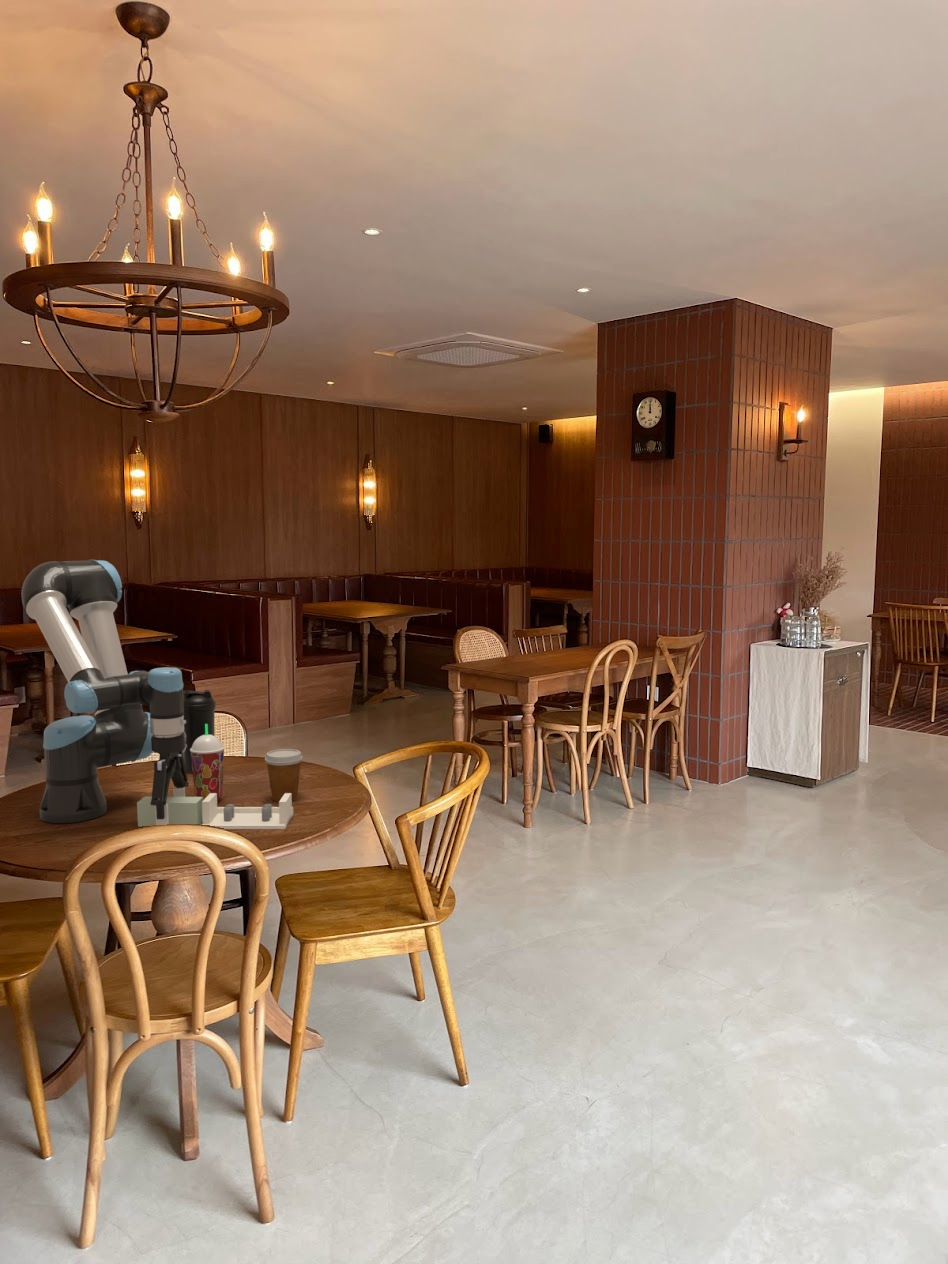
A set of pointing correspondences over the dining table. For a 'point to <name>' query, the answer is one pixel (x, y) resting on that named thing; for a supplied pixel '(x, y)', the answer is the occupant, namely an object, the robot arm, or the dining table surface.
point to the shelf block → (171, 811)
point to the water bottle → (196, 720)
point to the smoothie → (207, 765)
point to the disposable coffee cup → (283, 772)
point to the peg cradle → (247, 814)
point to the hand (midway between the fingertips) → (171, 822)
